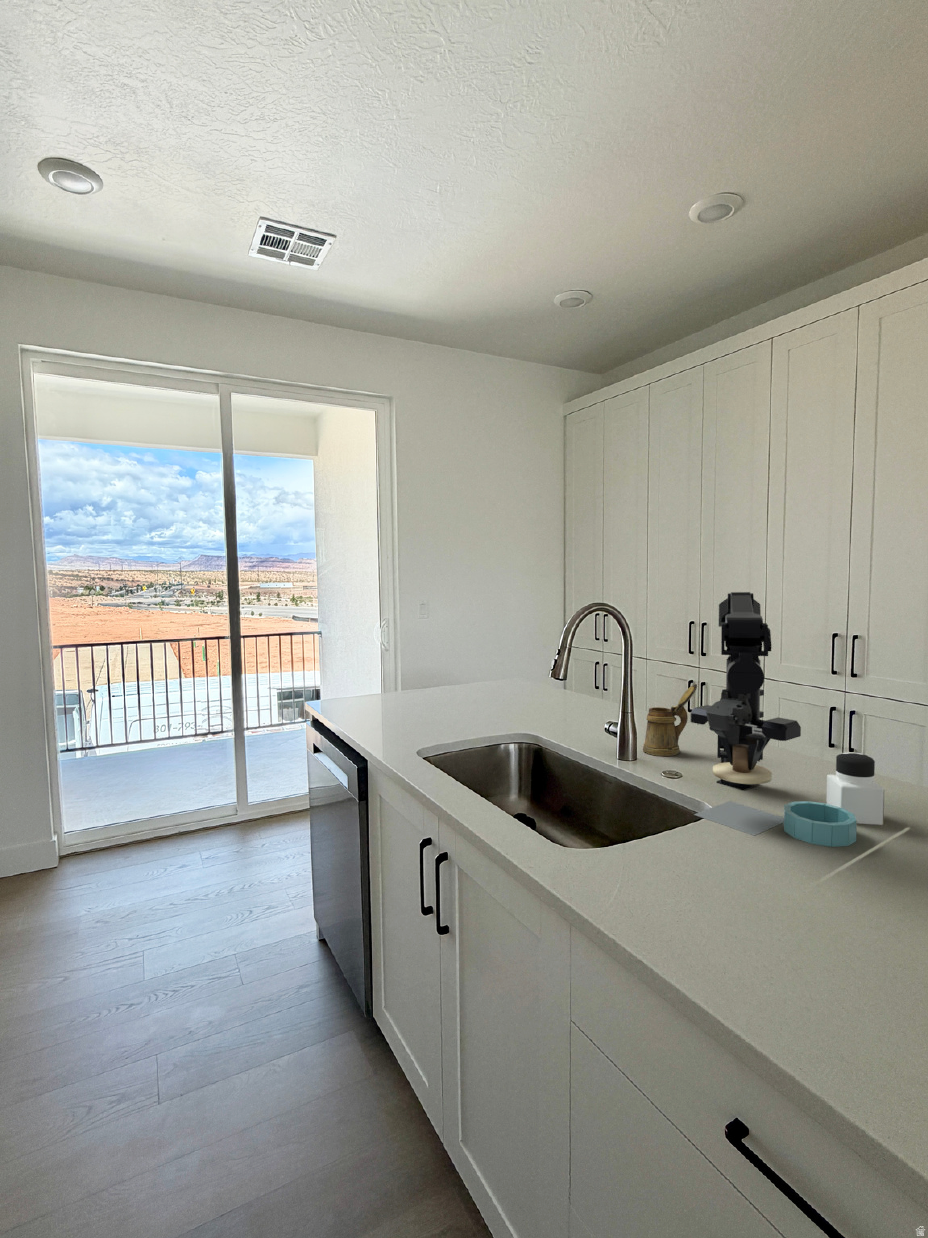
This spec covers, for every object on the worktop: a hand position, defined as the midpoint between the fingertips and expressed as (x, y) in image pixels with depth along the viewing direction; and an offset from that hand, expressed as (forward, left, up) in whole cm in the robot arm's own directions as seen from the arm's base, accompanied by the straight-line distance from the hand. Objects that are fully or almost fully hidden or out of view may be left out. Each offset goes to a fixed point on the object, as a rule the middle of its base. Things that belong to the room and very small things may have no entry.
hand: (741, 767), depth 114 cm
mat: (0, 0, -10) cm, 10 cm away
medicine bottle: (+12, +17, -10) cm, 23 cm away
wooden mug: (-36, +27, -10) cm, 46 cm away
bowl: (+12, +4, -10) cm, 16 cm away
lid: (0, 0, -2) cm, 2 cm away
